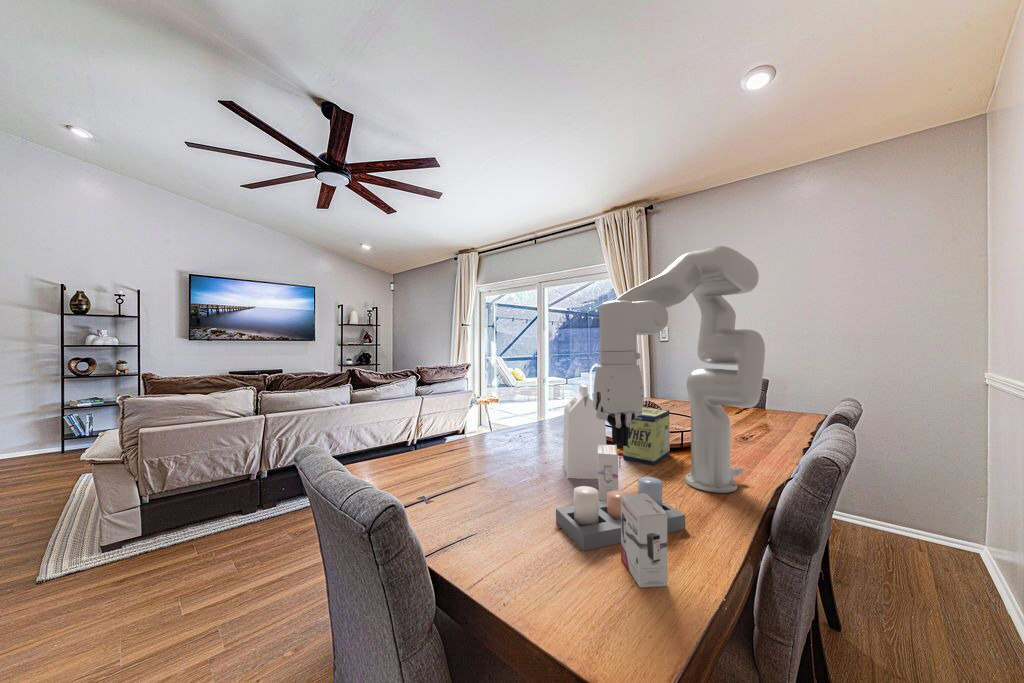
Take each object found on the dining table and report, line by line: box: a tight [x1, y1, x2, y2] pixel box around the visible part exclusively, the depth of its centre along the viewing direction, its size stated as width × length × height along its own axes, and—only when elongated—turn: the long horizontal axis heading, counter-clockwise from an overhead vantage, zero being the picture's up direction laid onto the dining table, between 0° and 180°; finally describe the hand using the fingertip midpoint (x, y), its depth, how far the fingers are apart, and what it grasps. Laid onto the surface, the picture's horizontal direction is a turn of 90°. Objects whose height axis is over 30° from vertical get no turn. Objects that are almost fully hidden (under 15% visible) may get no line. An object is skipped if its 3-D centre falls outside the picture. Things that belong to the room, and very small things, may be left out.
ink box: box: [620, 493, 668, 588], centre depth 64 cm, size 9×5×12 cm, turn 5°
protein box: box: [622, 406, 671, 466], centre depth 127 cm, size 10×16×16 cm
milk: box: [562, 383, 607, 480], centre depth 114 cm, size 12×12×26 cm
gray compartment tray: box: [555, 500, 686, 552], centre depth 80 cm, size 24×12×3 cm, turn 109°
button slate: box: [637, 476, 663, 508], centre depth 83 cm, size 5×5×6 cm
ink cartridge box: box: [597, 444, 619, 501], centre depth 97 cm, size 9×5×15 cm, turn 168°
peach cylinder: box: [607, 490, 630, 520], centre depth 80 cm, size 5×5×6 cm
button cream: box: [573, 485, 599, 526], centre depth 77 cm, size 5×5×6 cm
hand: (620, 444), depth 80 cm, fingers closed
